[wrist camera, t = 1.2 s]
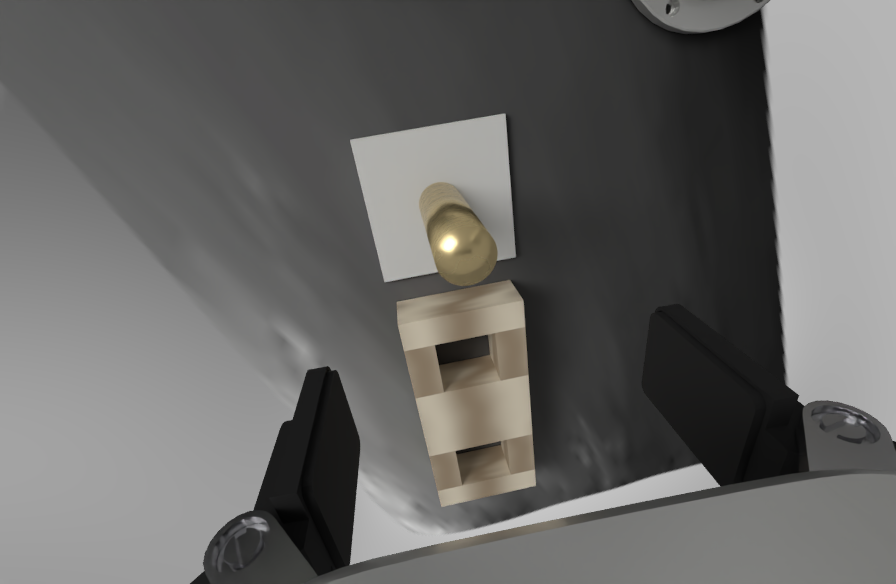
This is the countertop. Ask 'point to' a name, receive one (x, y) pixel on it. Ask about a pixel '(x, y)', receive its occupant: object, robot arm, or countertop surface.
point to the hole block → (472, 390)
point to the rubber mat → (426, 162)
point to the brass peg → (456, 236)
